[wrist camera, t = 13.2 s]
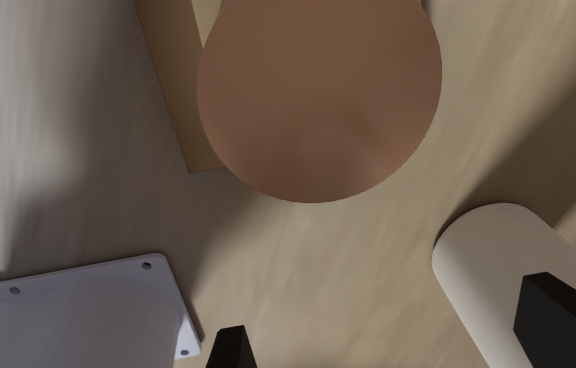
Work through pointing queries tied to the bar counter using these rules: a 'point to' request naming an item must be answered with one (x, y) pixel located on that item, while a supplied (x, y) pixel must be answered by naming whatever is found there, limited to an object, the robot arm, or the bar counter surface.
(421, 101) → the brown rounded piece
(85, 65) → the bar counter surface
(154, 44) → the board
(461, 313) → the can
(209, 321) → the bar counter surface
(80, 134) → the bar counter surface
